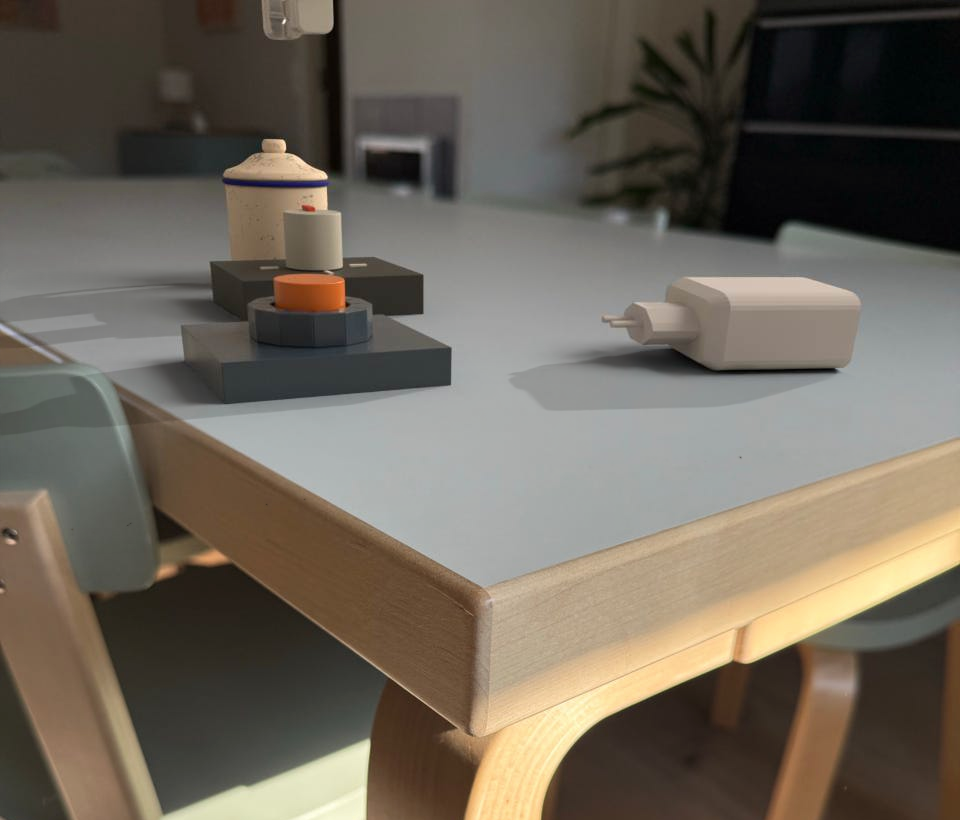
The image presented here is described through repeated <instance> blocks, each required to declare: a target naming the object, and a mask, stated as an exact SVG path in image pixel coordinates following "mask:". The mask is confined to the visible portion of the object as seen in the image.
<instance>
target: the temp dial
mask: <svg viewBox="0 0 960 820" xmlns="http://www.w3.org/2000/svg"><path fill="white" fill-rule="evenodd" d="M283 223H284V240H285V256H286V267H288V268H290V269H296V270H307V271H326V270H336V269H340V268H342V267H343V258H344V257H343V233H342V231H343V229H342V212H340V211H338V210H332V209H328V210H318V209H315V207H312V206H310V205H302V209H295V210H285V211H283Z"/></svg>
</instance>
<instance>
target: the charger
mask: <svg viewBox="0 0 960 820" xmlns="http://www.w3.org/2000/svg"><path fill="white" fill-rule="evenodd" d="M861 311H862V303H861V300H860V298H859V296H858V295H857V294H856V293H854V292H853V291H850V290H848V289H844V288H841V287H838V286H835V285H832V284H827V283H824V282H821V281H818V280H814V279H811V278H808V277H802V276H783V277H782V276H729V277H728V276H681V277H679V278H677V279H676V280H674V281H673V282H671V283H670V284H669V285H667V287H666V290H665V299H664V301H651V302H650V301H643V302H642V301H638V302H636V301H633V302H632V303H631V304H630V305H629V306H627V307H626V308H625V310H624V312H623V314H622V315H602V317H601V322H602V323H603V324H604V323H605V324H607V323H609V327H610V328H614V329H615V328H616V329H617V328H619V329H620V328H625V329H626V331H627V334H628V337H629V339H631V340H633V341H634V342H636V343H637V344H639V345H641V346H656V345H657V346H660V345H661V346H666V345H667V346H668V347H670V348H672V349H674V350H675V351H677V352H679V353H680V354H682V355H684V356H686V357H688V358H690V359H692V360H693V361H695V362H696V363H698V364H700V365H702V366H703V367H706V368H708V369H709V370H711V371H750V370H751V371H752V370H753V371H754V370H759V371H760V370H806V369H808V370H809V369H810V370H811V369H844V368H846V367H848V366H849V364H850V363H851V361H852V356H853V353H854V346H855V341H856V338H857V332H858V327H859V321H860V316H861Z"/></svg>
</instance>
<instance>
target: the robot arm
mask: <svg viewBox="0 0 960 820" xmlns="http://www.w3.org/2000/svg"><path fill="white" fill-rule="evenodd" d="M333 1H334V0H261V12H262V26H263V27H262V28H263V32H264V35H265V36H266V37H267V39H270V40H279V41H294V40H298V39H300V38H301V37H302V36H303V35H311V36H320V35H326V34H329V33H330V32H331V31H332V30H333V28H334V2H333Z"/></svg>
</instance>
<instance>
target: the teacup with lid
mask: <svg viewBox="0 0 960 820" xmlns="http://www.w3.org/2000/svg"><path fill="white" fill-rule="evenodd" d="M261 148H262V149H261V150H262V151H263V152H257V153H254V154H251V155H250V156H248V157H247V158H246V159H245V160H244V161H242V162H241V163H240V164H238V165H236V166H233V167H230V168H227V169H225V170H224V172H223V174H222V179H221V182H222V183H223V184H224V186H225V197H226V198H225V199H226V209H227V221H228V223H227V224H228V233H229V234H228V235H229V246H230V247H229V248H230V257H231V261H241V260H277V259H286V256H285V240H284V223H283V211H285V210H295V209H302V205H310V206H312V207H315V209H318V210H329V209H328V207H329V206H328V187H327V186H329V185H330V181H329V180H328V177H329V176H328V174H327V173H326V172H325V171H323V170H320V169H318V168H316V167H313V166H311V165H310V164H308V163H306V162H305V161H304V160H303V159H302V158H300V157H299V156H297V155H295V154H294V153H293V154H292V153H288V152H286V151H287V145H286V141H285V140H284V139H278V138H277V139H275V138H273V139H272V138H264V139H263V140H262V142H261Z"/></svg>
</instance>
